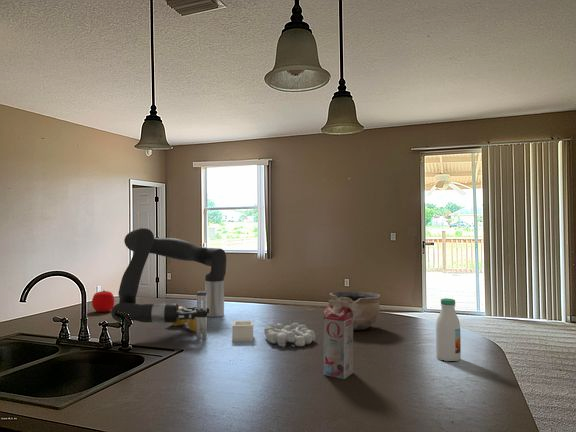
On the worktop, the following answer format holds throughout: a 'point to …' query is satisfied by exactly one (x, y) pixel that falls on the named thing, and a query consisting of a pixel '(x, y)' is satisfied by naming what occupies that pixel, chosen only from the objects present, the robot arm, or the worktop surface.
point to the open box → (242, 331)
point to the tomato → (103, 301)
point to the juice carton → (338, 339)
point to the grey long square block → (201, 320)
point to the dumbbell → (191, 323)
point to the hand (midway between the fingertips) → (208, 312)
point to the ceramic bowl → (360, 307)
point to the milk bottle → (448, 332)
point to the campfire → (289, 334)
